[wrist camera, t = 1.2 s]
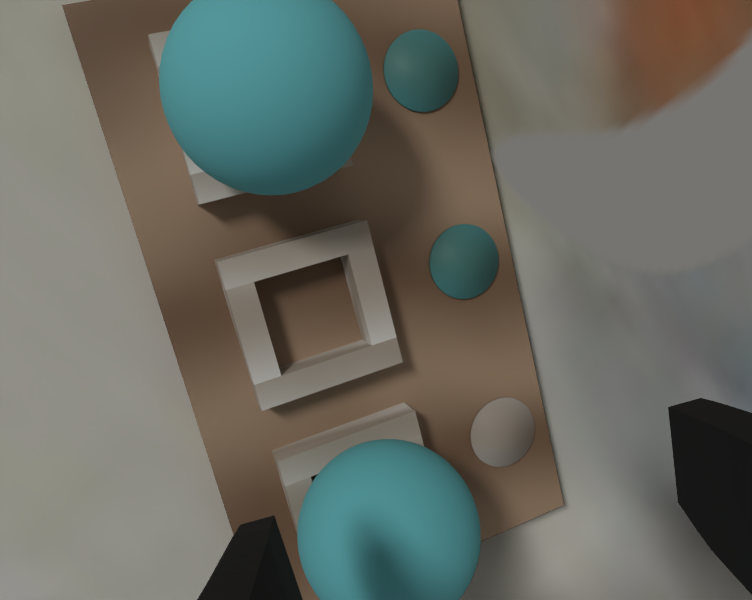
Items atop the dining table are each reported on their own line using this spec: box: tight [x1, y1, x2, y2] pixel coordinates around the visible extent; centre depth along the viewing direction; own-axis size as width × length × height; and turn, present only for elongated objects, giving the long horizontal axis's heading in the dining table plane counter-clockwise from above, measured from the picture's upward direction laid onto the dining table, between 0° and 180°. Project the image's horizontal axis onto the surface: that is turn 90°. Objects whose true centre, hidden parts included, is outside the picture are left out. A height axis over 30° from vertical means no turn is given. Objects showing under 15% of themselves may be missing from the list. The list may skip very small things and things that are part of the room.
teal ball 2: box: [297, 439, 481, 600], centre depth 18 cm, size 5×5×5 cm
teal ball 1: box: [159, 0, 373, 195], centre depth 16 cm, size 5×5×5 cm
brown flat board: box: [62, 0, 564, 600], centre depth 20 cm, size 19×11×2 cm, turn 15°
